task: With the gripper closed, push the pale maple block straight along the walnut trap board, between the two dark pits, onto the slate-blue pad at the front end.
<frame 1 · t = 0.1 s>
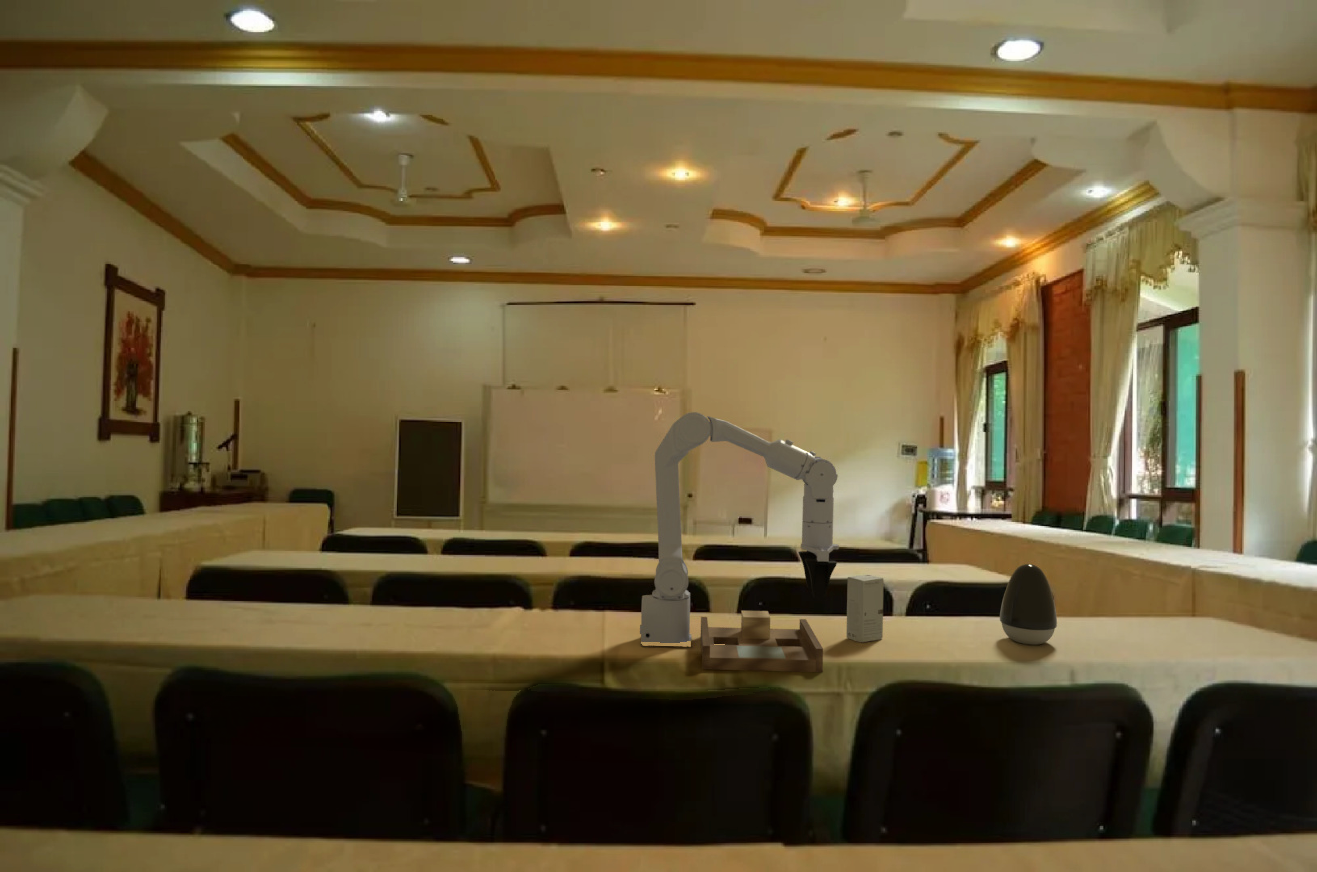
hand: (816, 592, 154), 10 cm above the table, tool pointing down, fingers open, 7 cm apart
two-tone egg figurine: (1027, 642, 160), on the table
maple block: (755, 635, 154), point 2 cm above the table, touching trap board
skincare box: (864, 639, 160), on the table
trap board: (757, 653, 149), on the table
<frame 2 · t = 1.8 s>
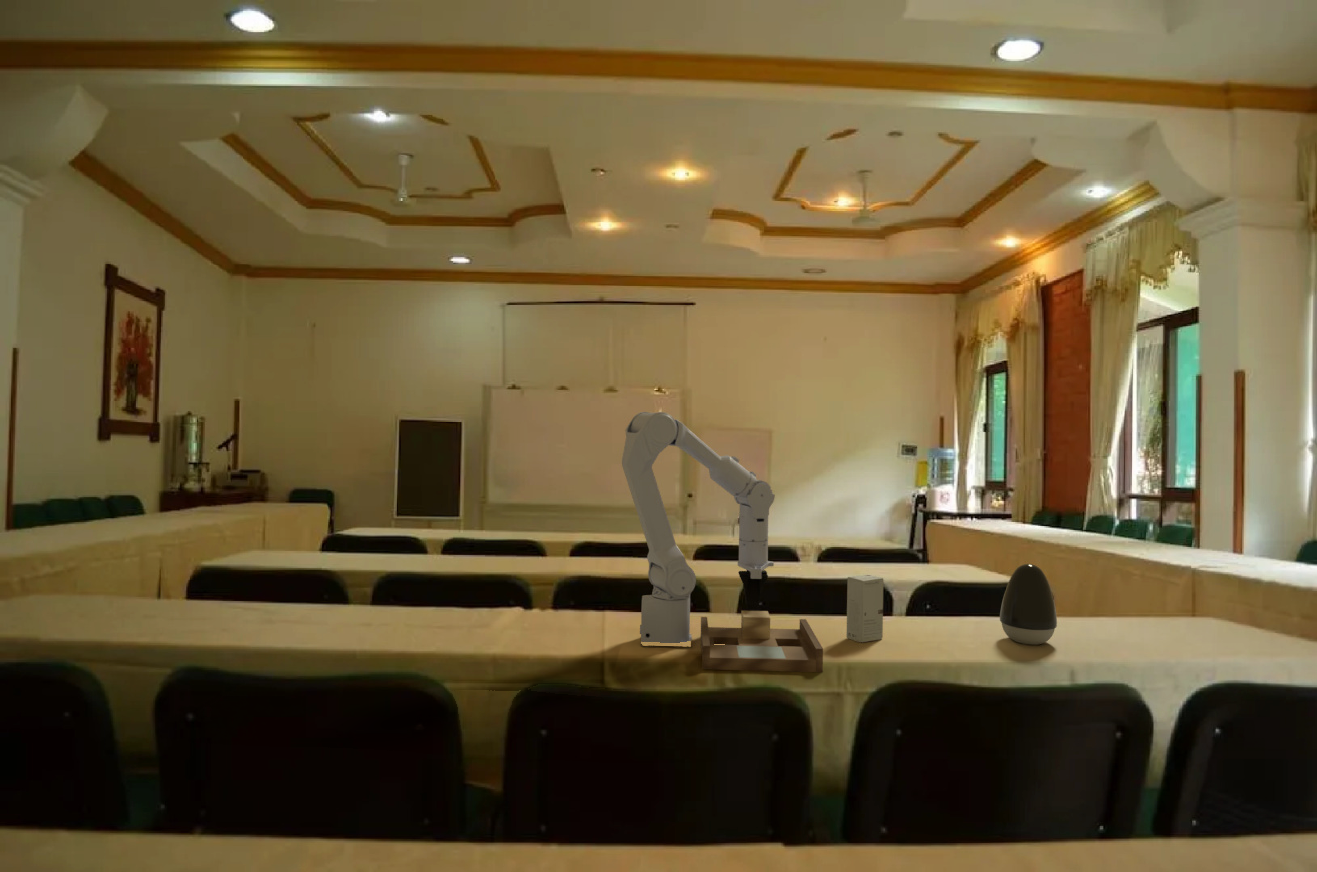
hand: (752, 607, 162), 5 cm above the table, tool pointing down, fingers closed
nothing on the table moved.
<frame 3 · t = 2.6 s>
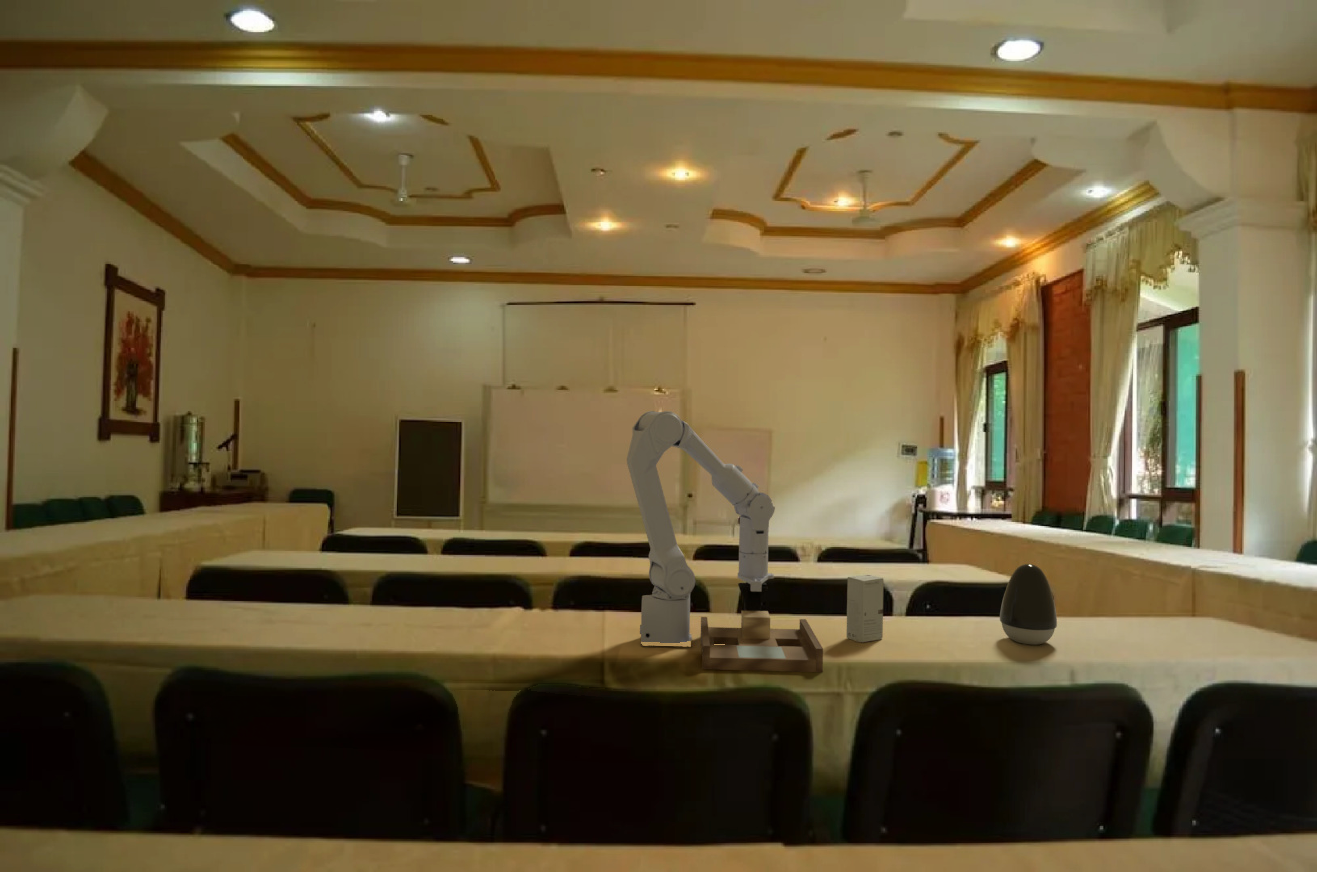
hand: (752, 620, 161), 3 cm above the table, tool pointing down, fingers closed
nothing on the table moved.
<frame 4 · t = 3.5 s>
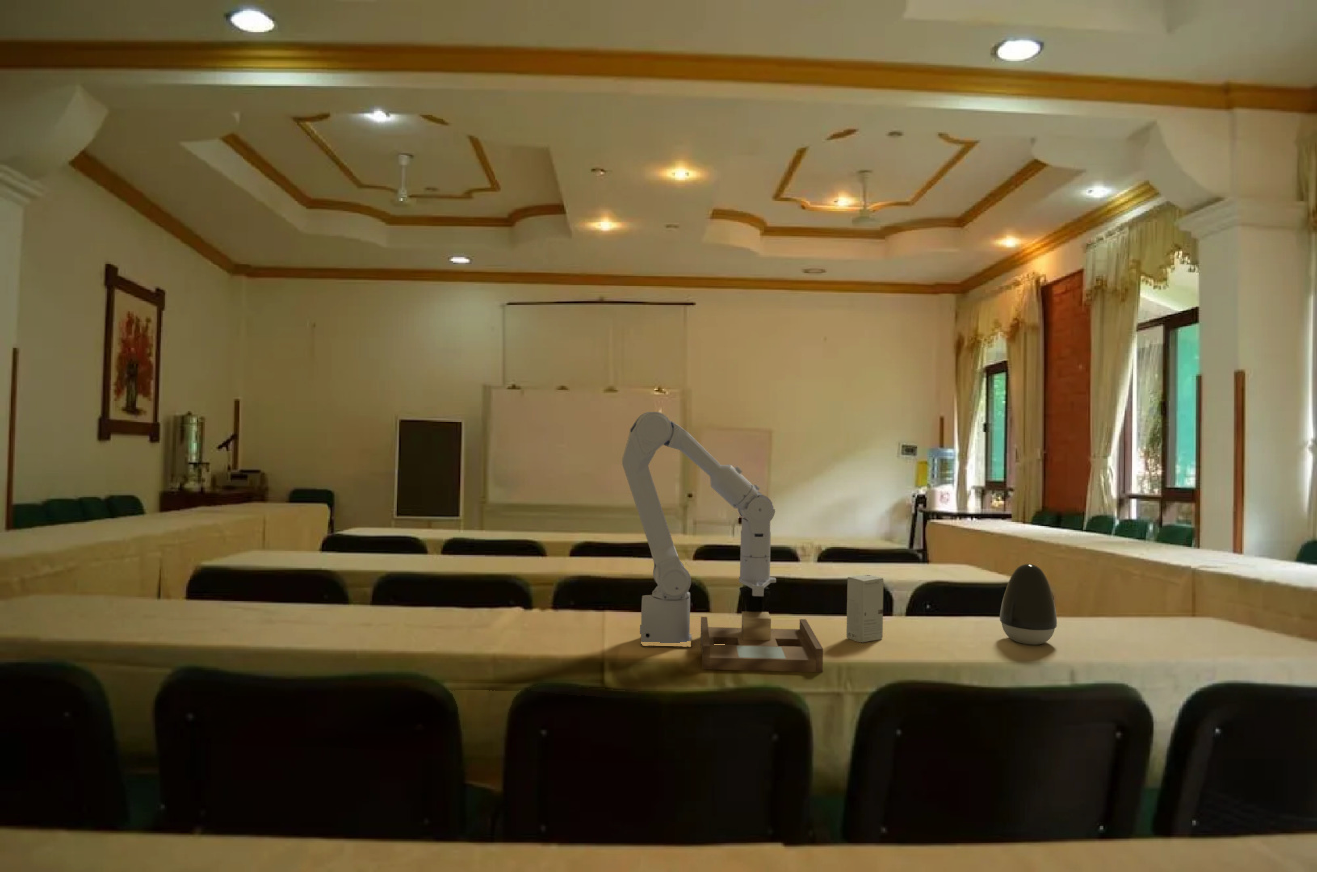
hand: (754, 625, 157), 3 cm above the table, tool pointing down, fingers closed
maple block: (755, 636, 153), point 2 cm above the table, touching gripper
everything else where it was.
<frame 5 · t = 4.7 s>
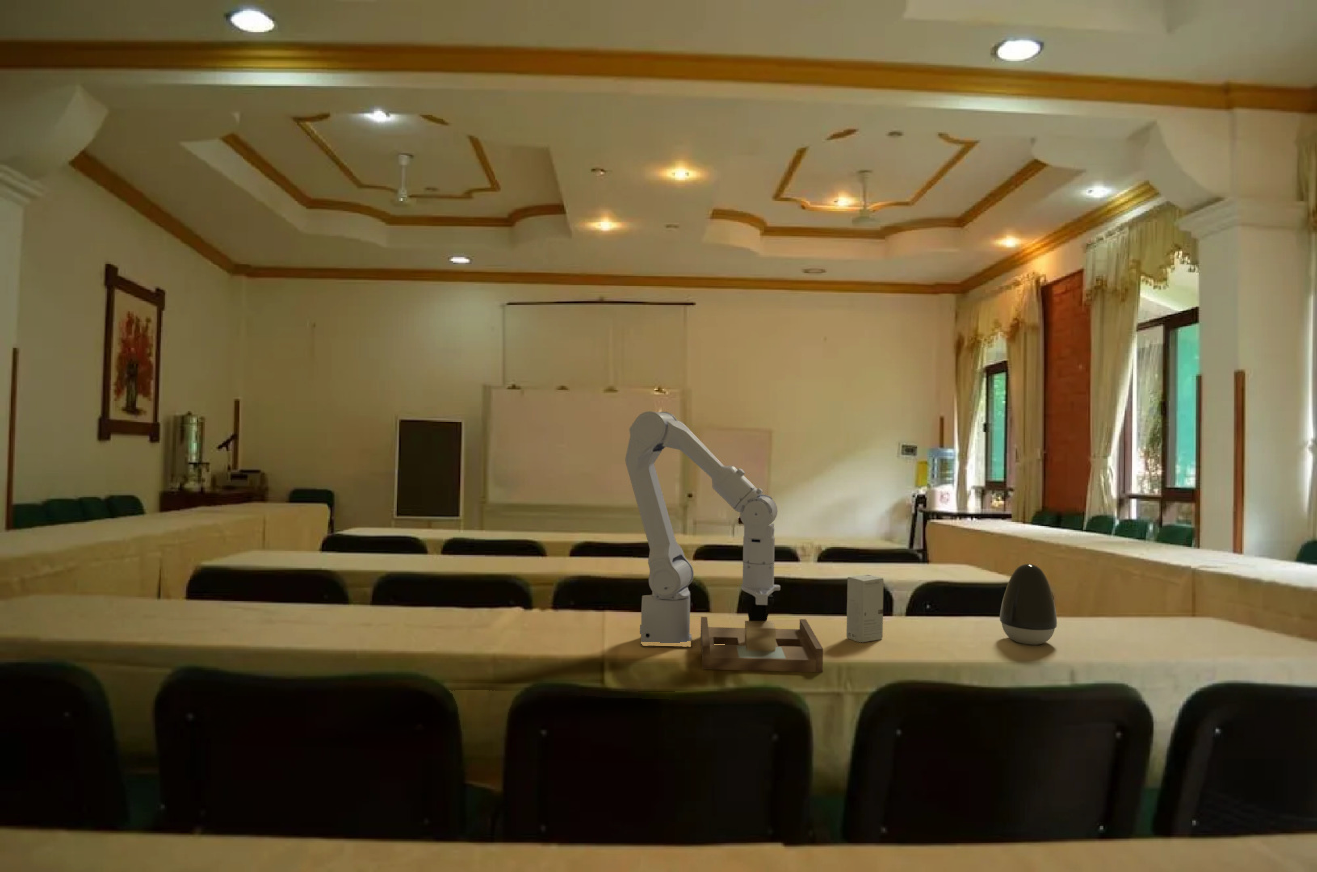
hand: (757, 635, 150), 3 cm above the table, tool pointing down, fingers closed
maple block: (759, 646, 146), point 2 cm above the table, touching gripper, trap board
everything else where it was.
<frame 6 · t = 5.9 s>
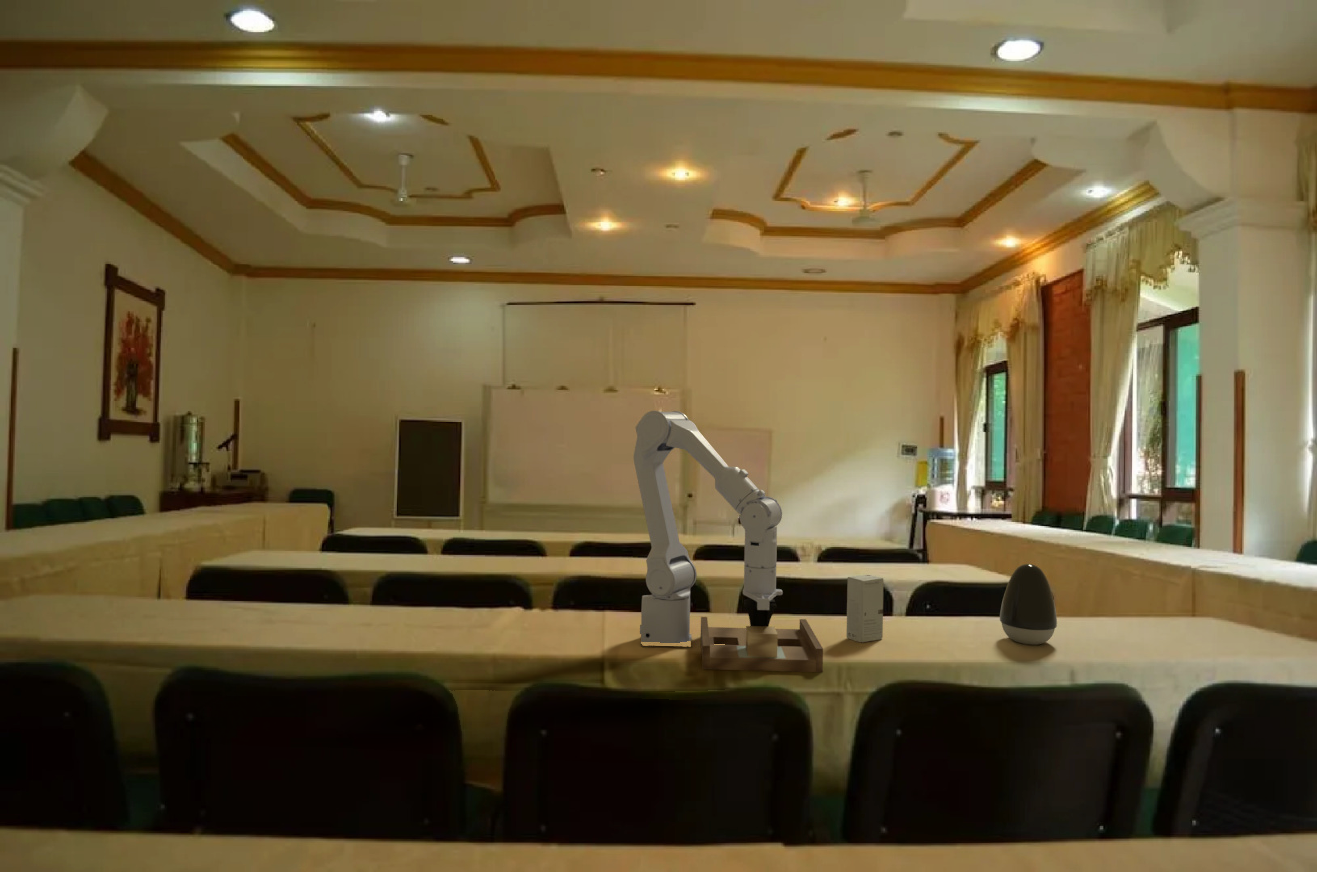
hand: (758, 640, 146), 3 cm above the table, tool pointing down, fingers closed
maple block: (761, 652, 142), point 2 cm above the table, touching gripper, trap board
everything else where it was.
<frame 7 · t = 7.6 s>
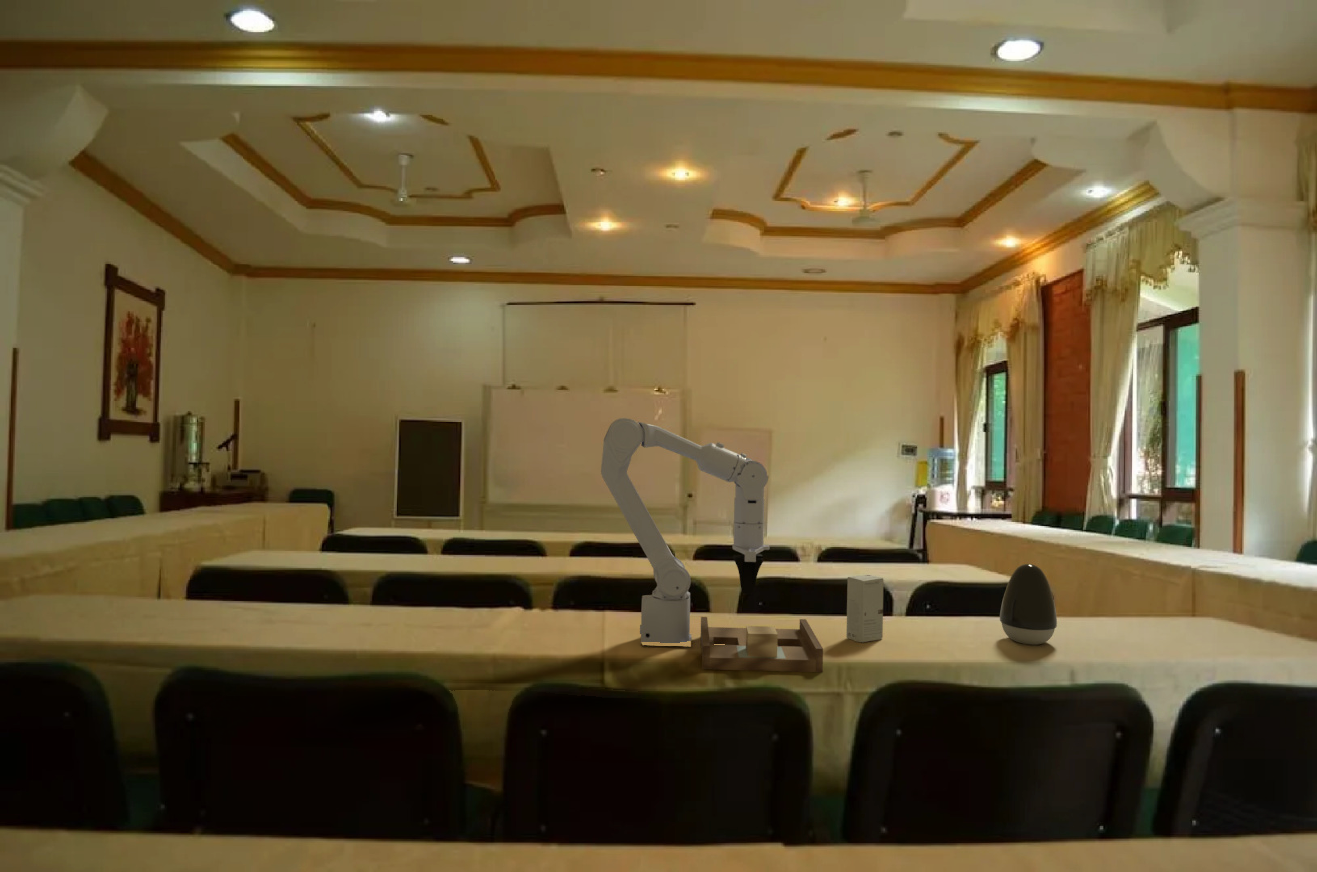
hand: (747, 592, 156), 9 cm above the table, tool pointing down, fingers closed
maple block: (761, 652, 142), point 2 cm above the table, touching trap board
everything else where it was.
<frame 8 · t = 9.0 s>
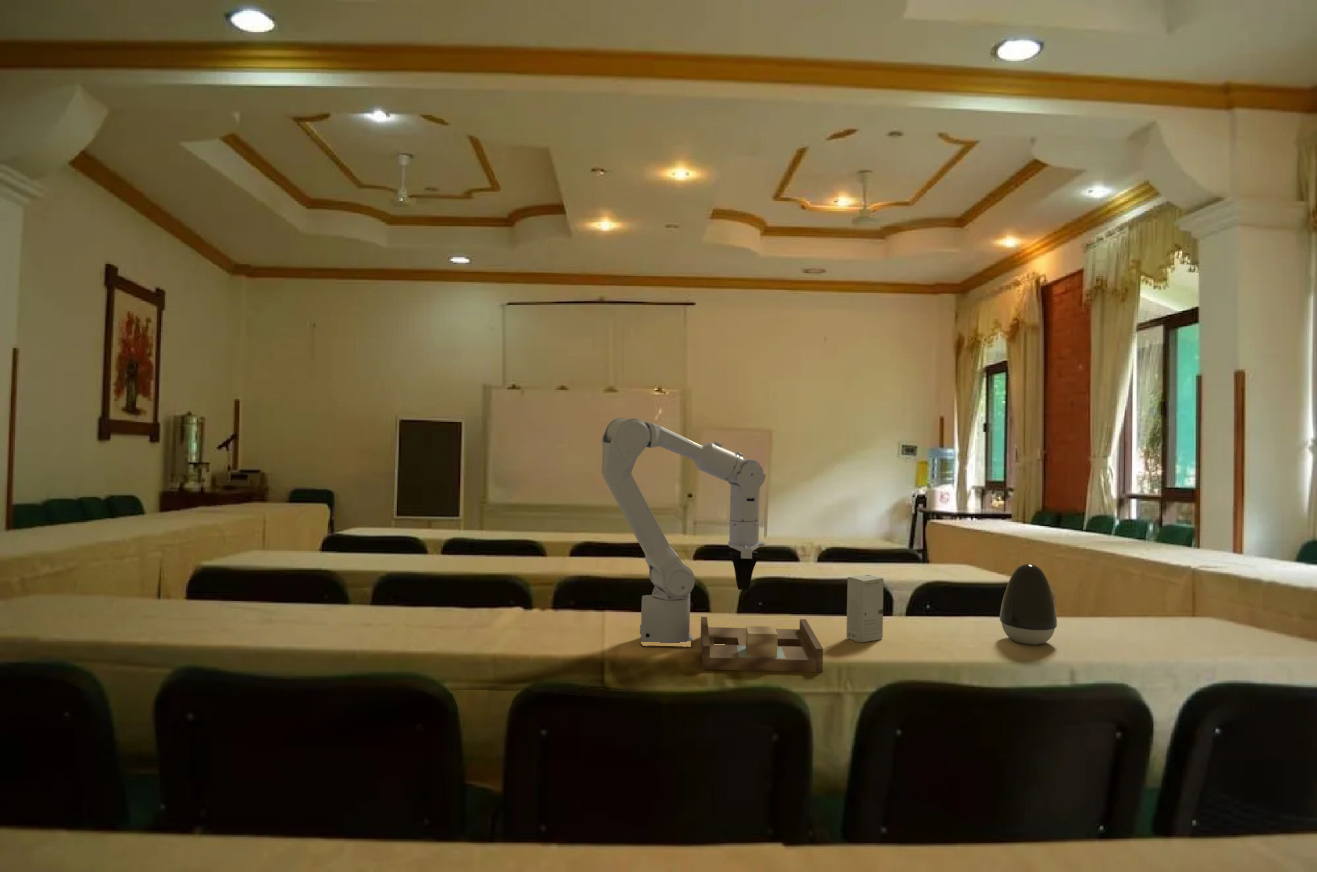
hand: (743, 589, 159), 9 cm above the table, tool pointing down, fingers closed
nothing on the table moved.
at the end: maple block 0.5 cm from the target spot on the trap board, point 2.0 cm above the trap board's base; maple block tilted 0° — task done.
